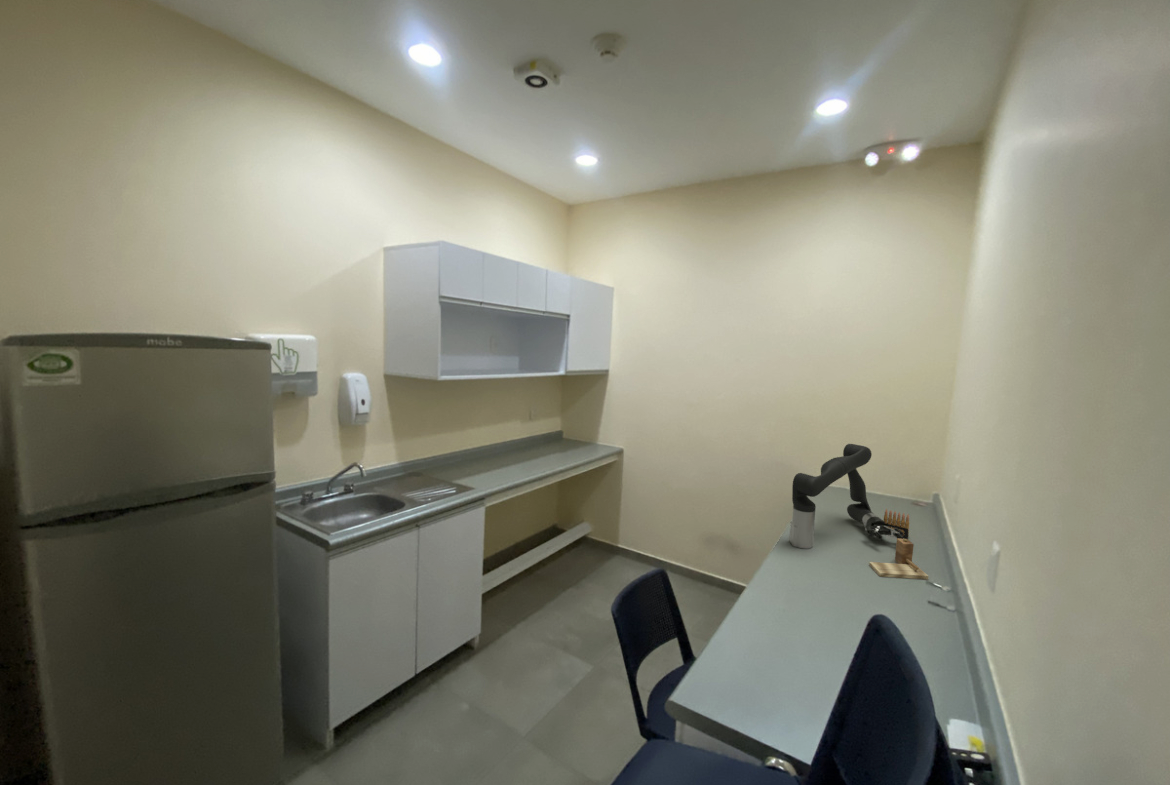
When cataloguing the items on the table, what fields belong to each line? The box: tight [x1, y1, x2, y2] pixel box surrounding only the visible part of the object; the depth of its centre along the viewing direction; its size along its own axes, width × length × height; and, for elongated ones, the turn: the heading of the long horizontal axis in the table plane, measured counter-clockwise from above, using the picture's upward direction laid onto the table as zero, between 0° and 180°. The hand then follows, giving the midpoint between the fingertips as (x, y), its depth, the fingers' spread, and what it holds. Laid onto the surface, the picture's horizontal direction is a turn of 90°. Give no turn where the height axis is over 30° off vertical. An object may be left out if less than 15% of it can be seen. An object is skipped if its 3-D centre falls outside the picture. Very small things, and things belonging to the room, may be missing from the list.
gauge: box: [894, 538, 920, 571], centre depth 194 cm, size 4×12×11 cm, turn 173°
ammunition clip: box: [883, 508, 910, 540], centre depth 225 cm, size 11×2×12 cm, turn 46°
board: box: [868, 561, 929, 581], centre depth 191 cm, size 18×9×2 cm, turn 83°
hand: (891, 538), depth 208 cm, fingers open, 8 cm apart
